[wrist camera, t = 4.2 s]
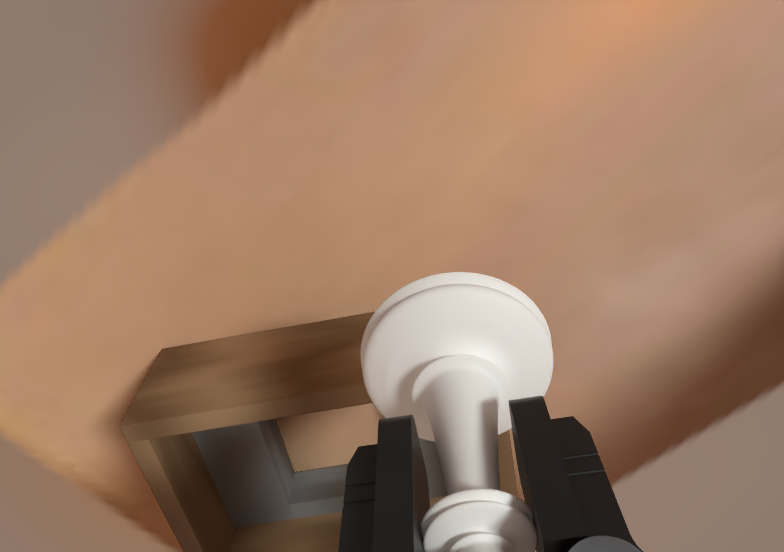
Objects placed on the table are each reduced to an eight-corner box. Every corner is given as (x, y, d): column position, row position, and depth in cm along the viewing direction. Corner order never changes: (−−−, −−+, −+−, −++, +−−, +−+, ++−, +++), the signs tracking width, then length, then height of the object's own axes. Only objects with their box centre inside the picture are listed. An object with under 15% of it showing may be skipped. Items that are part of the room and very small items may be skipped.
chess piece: (477, 453, 18) (553, 961, 9) (326, 378, 16) (237, 874, 8) (591, 331, 16) (838, 823, 7) (429, 235, 14) (471, 677, 6)
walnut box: (479, 293, 26) (499, 363, 22) (504, 466, 30) (525, 553, 26) (162, 348, 27) (119, 426, 23) (232, 508, 32) (207, 599, 27)
